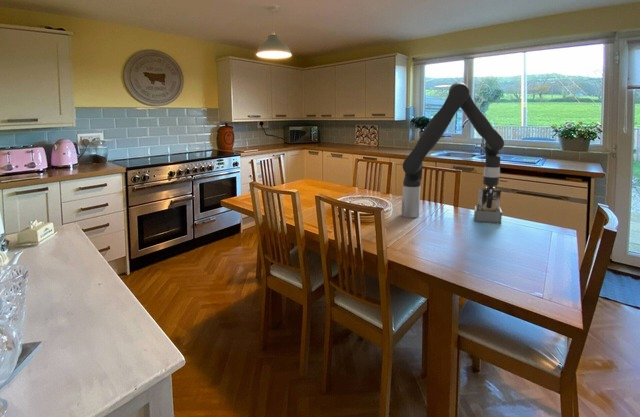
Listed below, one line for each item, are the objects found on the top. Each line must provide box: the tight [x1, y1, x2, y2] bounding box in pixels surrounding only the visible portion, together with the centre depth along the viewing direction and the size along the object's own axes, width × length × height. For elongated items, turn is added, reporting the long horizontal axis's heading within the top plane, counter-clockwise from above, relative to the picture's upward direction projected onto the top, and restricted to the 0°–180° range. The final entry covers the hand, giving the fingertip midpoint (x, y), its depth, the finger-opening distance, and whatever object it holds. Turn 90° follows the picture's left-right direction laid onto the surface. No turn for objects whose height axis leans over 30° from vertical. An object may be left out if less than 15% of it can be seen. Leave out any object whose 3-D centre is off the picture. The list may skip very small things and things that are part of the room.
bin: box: [473, 205, 503, 224], centre depth 202 cm, size 13×10×6 cm
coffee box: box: [477, 187, 502, 212], centre depth 201 cm, size 9×6×16 cm
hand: (488, 205), depth 201 cm, fingers open, 8 cm apart
